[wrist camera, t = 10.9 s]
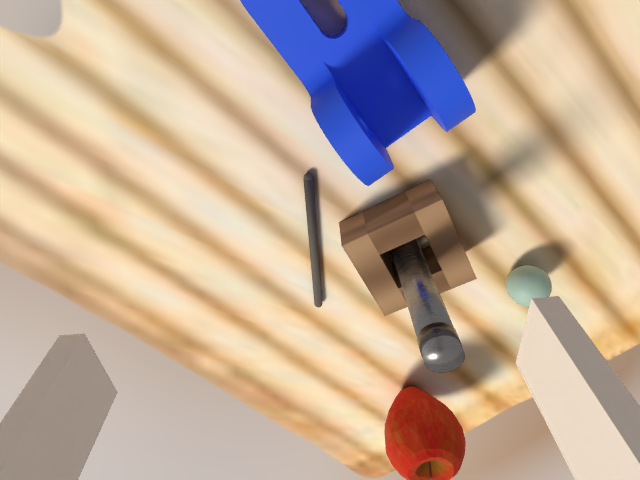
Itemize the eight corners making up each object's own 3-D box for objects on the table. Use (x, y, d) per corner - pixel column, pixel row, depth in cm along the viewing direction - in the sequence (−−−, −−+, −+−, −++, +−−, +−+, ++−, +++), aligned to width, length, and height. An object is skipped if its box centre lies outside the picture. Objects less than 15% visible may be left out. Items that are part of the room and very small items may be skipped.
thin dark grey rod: (303, 172, 36) (303, 175, 36) (312, 171, 36) (312, 175, 36) (314, 304, 44) (314, 309, 44) (322, 303, 44) (322, 308, 43)
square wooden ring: (339, 222, 39) (341, 245, 36) (430, 179, 37) (442, 199, 34) (379, 289, 43) (384, 315, 40) (463, 254, 41) (476, 278, 38)
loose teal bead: (502, 258, 42) (519, 283, 38) (543, 255, 42) (564, 280, 38) (496, 290, 44) (512, 316, 40) (535, 288, 44) (554, 314, 40)
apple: (458, 374, 50) (492, 462, 41) (428, 417, 54) (452, 506, 45) (392, 360, 49) (411, 448, 40) (366, 406, 53) (378, 495, 44)
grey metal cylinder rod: (388, 227, 40) (425, 345, 27) (417, 225, 39) (467, 342, 27) (387, 251, 41) (422, 374, 28) (415, 250, 41) (462, 372, 28)
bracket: (447, 92, 33) (488, 125, 26) (361, 154, 36) (375, 201, 28) (304, -148, 26) (301, -204, 18) (208, -47, 28) (170, -58, 21)
